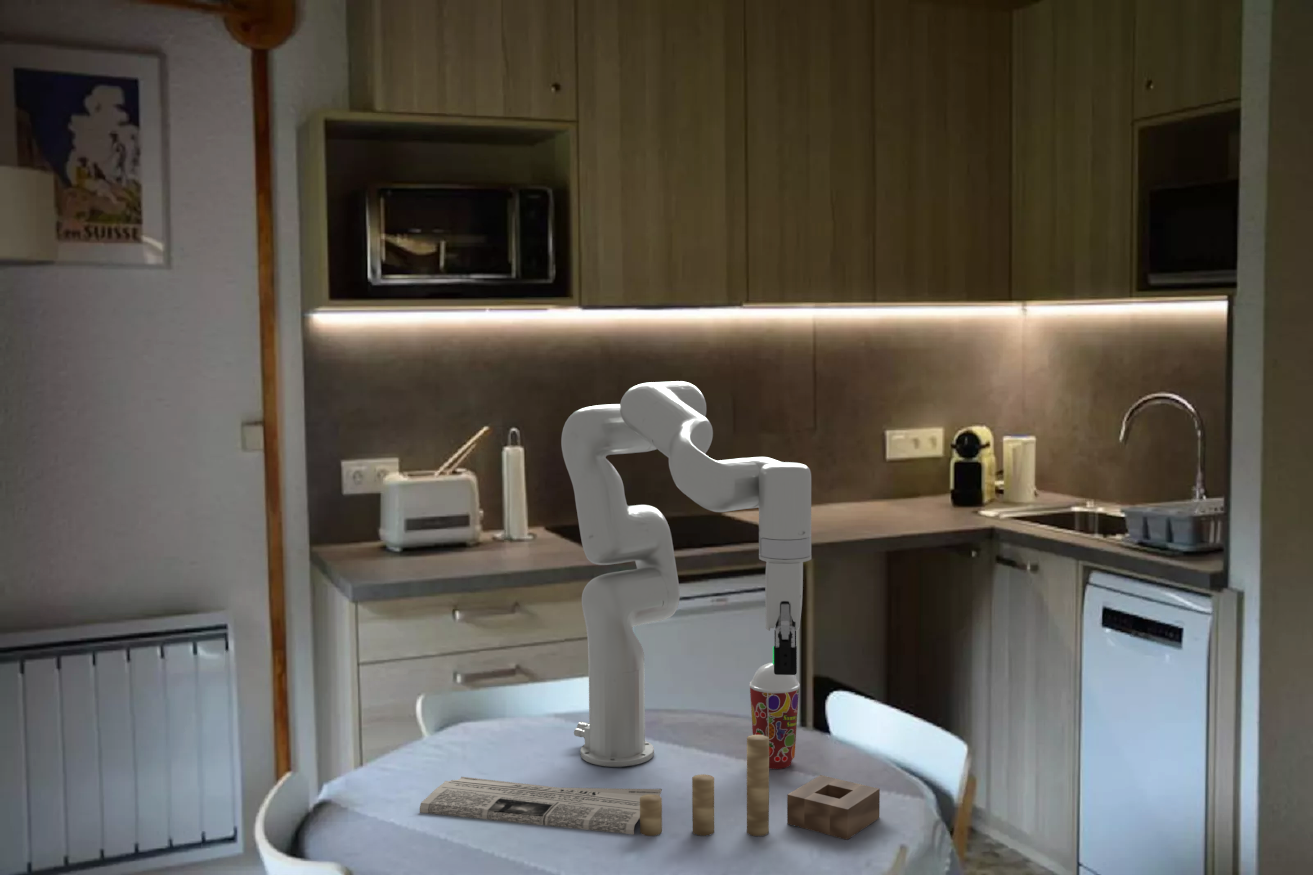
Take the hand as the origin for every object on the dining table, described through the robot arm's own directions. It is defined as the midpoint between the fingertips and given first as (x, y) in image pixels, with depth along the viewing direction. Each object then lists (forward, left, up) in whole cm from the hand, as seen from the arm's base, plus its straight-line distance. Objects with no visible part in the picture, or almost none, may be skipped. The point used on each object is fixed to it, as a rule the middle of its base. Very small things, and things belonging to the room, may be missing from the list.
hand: (785, 665), depth 189 cm
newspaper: (-34, -15, -25) cm, 45 cm away
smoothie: (-15, +22, -25) cm, 37 cm away
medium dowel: (-9, -8, -24) cm, 27 cm away
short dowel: (-15, -12, -24) cm, 31 cm away
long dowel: (-2, -4, -24) cm, 25 cm away
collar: (+5, +6, -24) cm, 26 cm away
